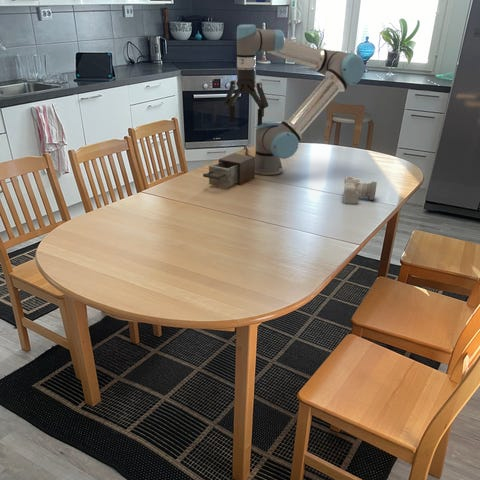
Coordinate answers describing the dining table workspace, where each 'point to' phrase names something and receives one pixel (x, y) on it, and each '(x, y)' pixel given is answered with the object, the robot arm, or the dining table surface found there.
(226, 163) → the grey drawer
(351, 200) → the digital camera
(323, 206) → the dining table surface
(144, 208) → the dining table surface
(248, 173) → the cabinet
